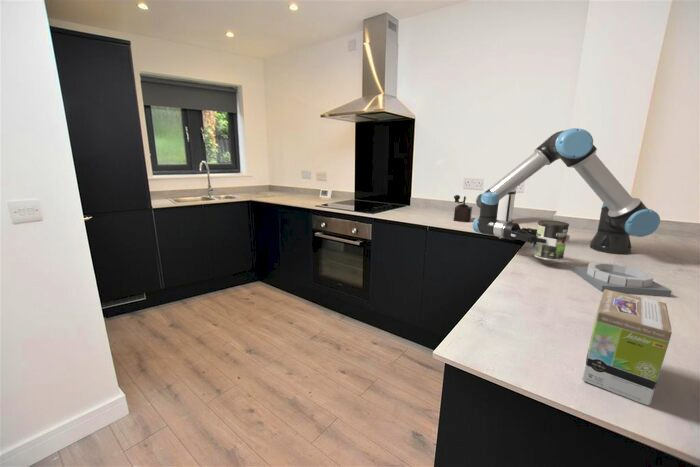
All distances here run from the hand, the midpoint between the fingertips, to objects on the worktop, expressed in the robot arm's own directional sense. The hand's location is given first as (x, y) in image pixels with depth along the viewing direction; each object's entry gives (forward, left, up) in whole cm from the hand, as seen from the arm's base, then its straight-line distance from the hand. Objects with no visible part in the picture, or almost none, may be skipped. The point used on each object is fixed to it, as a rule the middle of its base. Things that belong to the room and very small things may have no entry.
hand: (562, 240), depth 121 cm
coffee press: (-2, -92, -11) cm, 93 cm away
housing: (-13, +13, -11) cm, 21 cm away
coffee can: (+3, -3, -8) cm, 9 cm away
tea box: (+16, +67, -11) cm, 70 cm away
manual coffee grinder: (+24, -89, -11) cm, 93 cm away
